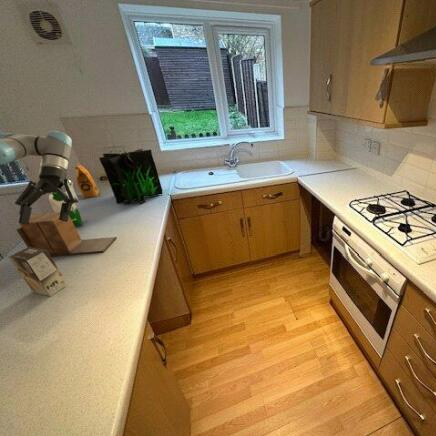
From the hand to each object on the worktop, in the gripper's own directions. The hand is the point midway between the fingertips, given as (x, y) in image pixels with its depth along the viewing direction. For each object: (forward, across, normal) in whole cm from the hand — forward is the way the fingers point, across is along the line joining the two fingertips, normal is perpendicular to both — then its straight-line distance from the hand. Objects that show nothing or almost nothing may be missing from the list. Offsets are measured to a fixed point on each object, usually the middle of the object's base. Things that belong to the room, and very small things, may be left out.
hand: (43, 222), depth 87 cm
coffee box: (+23, +1, -8) cm, 25 cm away
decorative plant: (-40, +8, -74) cm, 85 cm away
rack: (+4, +9, -28) cm, 30 cm away
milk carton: (-13, +27, -46) cm, 55 cm away
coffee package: (-46, +46, -79) cm, 102 cm away
